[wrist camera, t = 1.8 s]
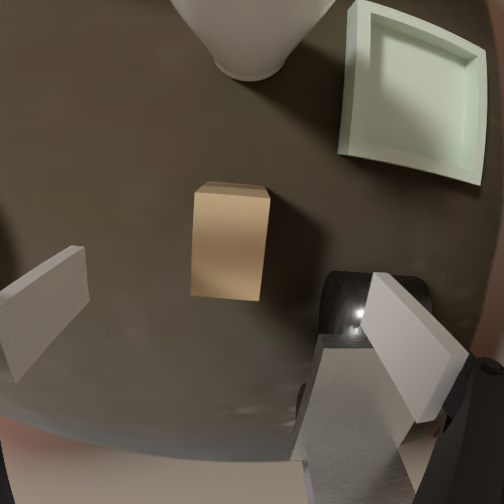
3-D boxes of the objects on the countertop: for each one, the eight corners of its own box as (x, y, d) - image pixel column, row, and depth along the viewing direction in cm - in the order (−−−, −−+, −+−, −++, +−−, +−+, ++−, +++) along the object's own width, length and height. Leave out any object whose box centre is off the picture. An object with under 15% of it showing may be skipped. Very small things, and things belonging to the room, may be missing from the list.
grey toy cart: (309, 257, 24) (387, 408, 9) (419, 266, 24) (540, 374, 9) (278, 413, 29) (293, 549, 14) (367, 410, 30) (412, 526, 15)
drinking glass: (312, 73, 19) (409, -25, 5) (225, 107, 20) (184, 31, 6) (272, 1, 17) (302, -139, 3) (188, 32, 18) (116, -93, 4)
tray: (347, 10, 18) (357, -3, 15) (469, 55, 18) (485, 50, 16) (337, 153, 21) (347, 154, 19) (462, 181, 22) (480, 185, 20)
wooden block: (208, 181, 22) (194, 192, 16) (264, 186, 22) (270, 198, 16) (203, 260, 24) (190, 295, 18) (255, 264, 24) (258, 301, 18)
